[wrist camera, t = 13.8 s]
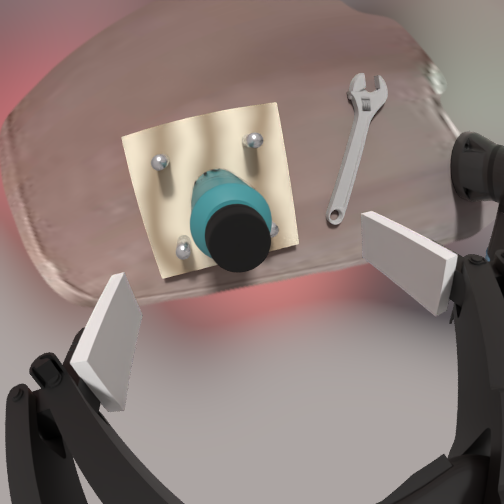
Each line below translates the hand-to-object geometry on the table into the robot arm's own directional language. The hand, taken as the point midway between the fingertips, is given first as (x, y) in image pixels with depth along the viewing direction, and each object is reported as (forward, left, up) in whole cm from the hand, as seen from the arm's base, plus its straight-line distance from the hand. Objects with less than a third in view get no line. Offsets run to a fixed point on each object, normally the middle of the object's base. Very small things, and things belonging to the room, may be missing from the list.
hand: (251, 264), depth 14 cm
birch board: (0, 0, -24) cm, 24 cm away
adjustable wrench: (-21, -3, -25) cm, 32 cm away
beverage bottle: (0, 0, -23) cm, 23 cm away
